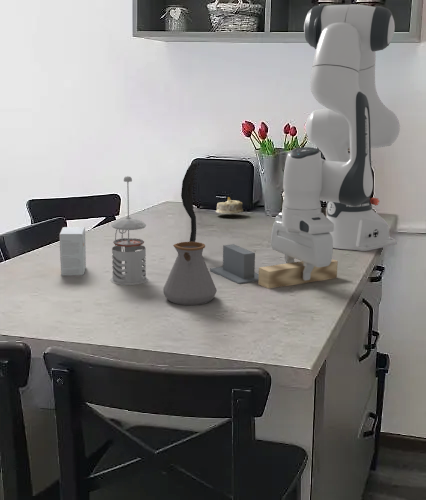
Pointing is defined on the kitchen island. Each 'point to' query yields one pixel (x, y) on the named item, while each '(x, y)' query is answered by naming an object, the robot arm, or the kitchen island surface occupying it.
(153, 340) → the kitchen island surface
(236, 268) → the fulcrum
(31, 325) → the kitchen island surface
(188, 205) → the black curved piece
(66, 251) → the small box
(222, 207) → the cake
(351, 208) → the robot arm
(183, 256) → the coffee pot
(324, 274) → the oak bar
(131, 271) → the french press
